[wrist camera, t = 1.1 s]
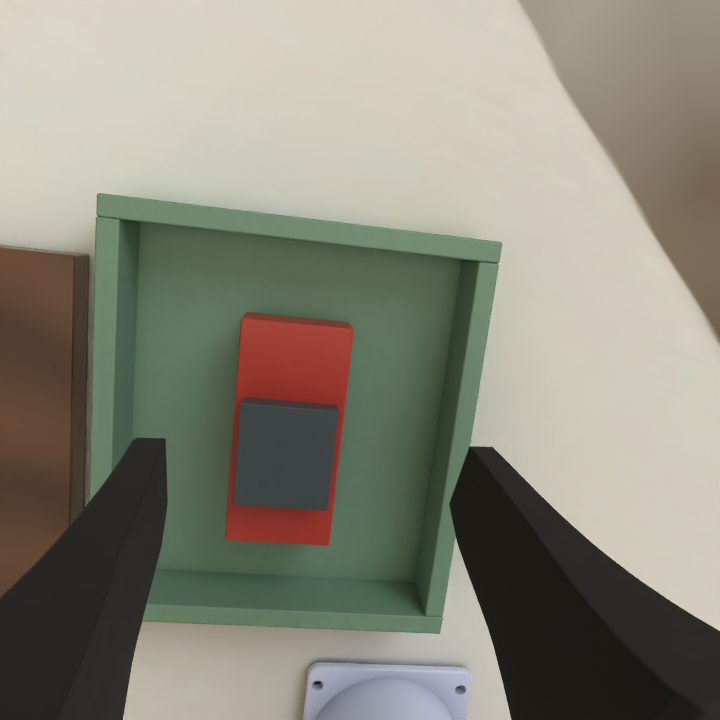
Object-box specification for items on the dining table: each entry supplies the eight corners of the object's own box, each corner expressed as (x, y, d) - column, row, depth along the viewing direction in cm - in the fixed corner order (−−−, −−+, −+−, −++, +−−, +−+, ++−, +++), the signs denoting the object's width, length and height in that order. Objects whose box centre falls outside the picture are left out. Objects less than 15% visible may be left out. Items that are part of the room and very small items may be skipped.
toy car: (329, 517, 25) (332, 559, 22) (230, 511, 25) (218, 552, 21) (351, 320, 23) (358, 332, 20) (245, 309, 23) (234, 320, 20)
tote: (427, 594, 27) (440, 634, 24) (110, 578, 25) (86, 619, 22) (480, 242, 24) (503, 242, 21) (122, 199, 22) (96, 192, 19)
